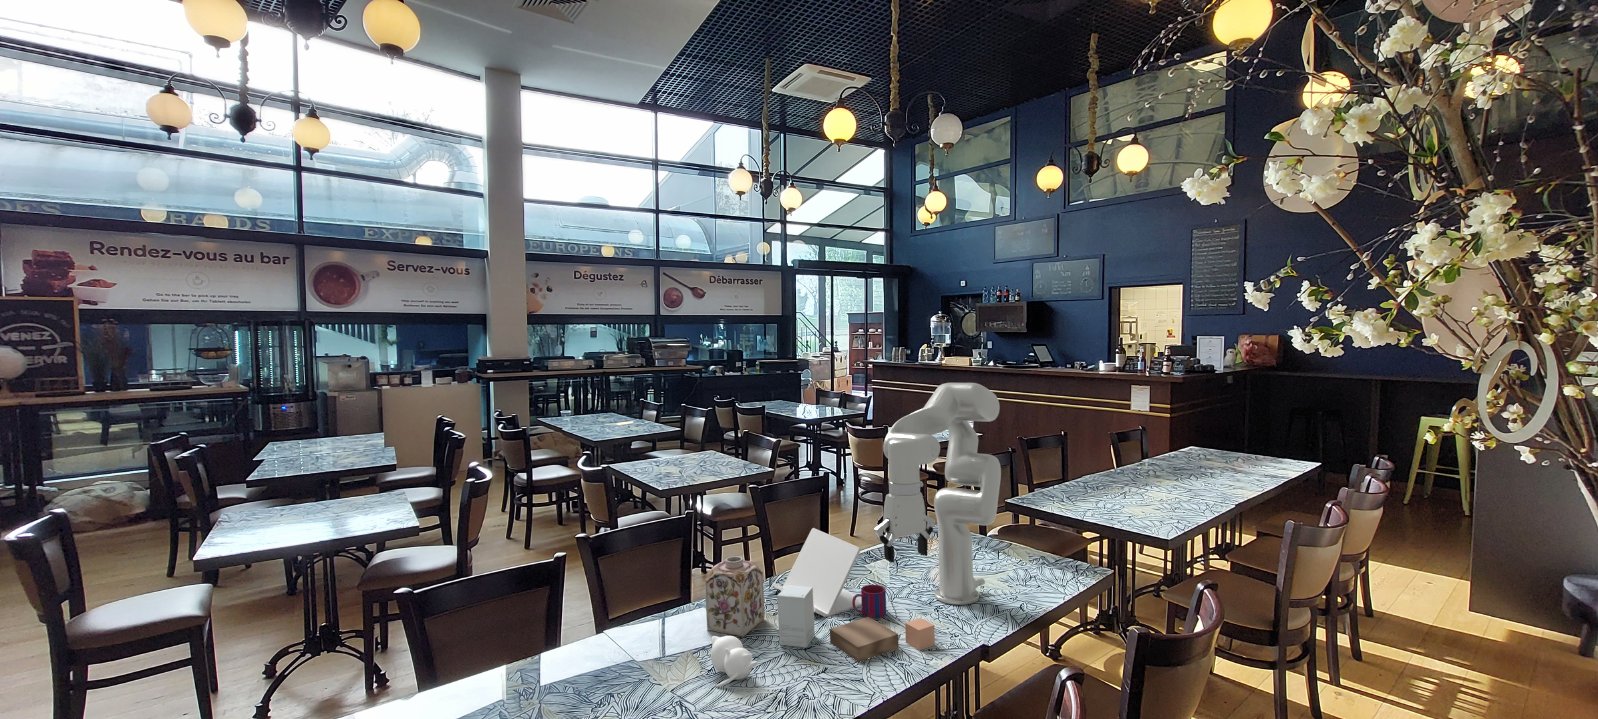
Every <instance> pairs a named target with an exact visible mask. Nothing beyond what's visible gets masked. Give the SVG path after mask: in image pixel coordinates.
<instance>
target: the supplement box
mask: <svg viewBox="0 0 1598 719" xmlns="http://www.w3.org/2000/svg"><path fill="white" fill-rule="evenodd" d="M776 597H777V611H778V612H777V613H778V615H777V616H778V634H779V635H778V636H779V645H780V646H789V647H797V648H798V647H799V648H807V647H808V646H809V644H810V643H811V642H812V640H813V639H814V637H815V635H816V633H815V612H814V605H813V587H804V586H792V585H787V586H786V587H785V588H784V589H783V590H782V591H781V590H780V592H779V593H778V594H777V596H776Z"/></svg>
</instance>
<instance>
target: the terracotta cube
mask: <svg viewBox="0 0 1598 719" xmlns="http://www.w3.org/2000/svg"><path fill="white" fill-rule="evenodd" d="M904 625H905V627H904V628H905V629H904V630H905V631H904V632H905V643H906V644H907V645H909V646H911V647H913V648H915V649H916V650H918V651H921V650H924V649H927V648H929V647H933V646H935V645H936V642H935V641H936V638H935V634H936V633H935V624H933V623H931V622H929V621H928V620H925V619H923V618H922V617H919V618H917V619H914V620H909V621H906V622H905V623H904Z"/></svg>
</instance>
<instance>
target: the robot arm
mask: <svg viewBox="0 0 1598 719" xmlns="http://www.w3.org/2000/svg"><path fill="white" fill-rule="evenodd" d="M999 414H1000V401H999V399H998V397H997V395H996V394H995V393H994V392H993V391H991V390H990V389H989V388H987V387H985V386H983V385H982V384H980V383H977V382H946V383H941V384H939V386H938V387H937V388H936V389H935V391H934V392H932V395H931V396H930V397H929V399H928V401H926V403H925V404H924V406H923V407H922V408H921V409H917V410H915V411H913V412H911V413H910V414H907V415H905V416H902V417H901V418H900V419H898V420H897V421H896V422H895V423H894V424H893V425H892V426H891V427H890V429H889V431H888V432H887V433H886V435H885V438H884V441H883V446H882V450H883V454H884V456H885V457H886V459H888V460H887V462H888V464H887V465H888V490H889V491H888V494H886V495H885V500H884V505H883V514H882V515H883V519H882V522H881V523H879V524H878V525H877V526H876V527H874V528H873V531H874V533H875V535H876V536H877V537H876V538H877V540H879V542H881V543H882V544H883V555H884V559H885V561H887V562H889V563H891V564H892V563H894V562H895V546H894V545H893V543H894V542H895V540H896V539H897V538H901V537H902V538H903V537H908V536H914V535H918V537H917V553H918V554H920V555H922V556H924V557H926V556H928V548H929V546H928V545H929V544H928V542H929V541H928V540H930V536H931V534H932V533H933V531H934V527H935V524H936V522H937V534H938V535H937V536H938V537H937V539H938V568H939V569H938V570H939V573H938V575H939V586H938V587H937V588H935V590H934V598H936V600H938V601H940V602H942V603H945V604H948V605H954V606H955V605H957V606H963V605H965V606H966V605H970V604H971V605H972V604H974V603H976V602H978V601H979V600H980V593H979V591H977V588H978V587H980V586H984V585H985V584H986V581H985V579H984V578H983V577H981V578H976V579H975V578H974V567H973V566H974V564H973V536H972V533H971V530H970V529H969V527H968V525H967V524H969V525H977V526H990V525H992V524H993V523H994V521H995V520H996V517H997V512H998V504H999V503H998V502H999V495H1000V486H1001V479H1002V477H1001V476H1002V468H1001V464H1000V461H999V458H998V457H997V456H994V455H992V454H990V453H978V447H979V436H978V434H977V432H976V431H975V429H974V427H973V426H972V425H971V424H970V423H969V422H993V421H995V420H996V419H997V418H998V416H999ZM946 430H948V436H949V437H948V445H947V450H946V451H947V452H946V459H945V465H944V466H945V467H944V477H945V480H947V482H949V483H950V484H954V485H958V486H968V487H978V488H980V490H977V489H967V488H960V487H959V488H958V487H943V488H941V489H939V490H937V492H936V493H935V496H934V498H933V507H934V513H935V516H936V517H935V518H936V519H934V518H933V517H931V516H928V515H926V506H925V501H924V498H923V497H924V496H923V493H922V492H921V487H922V488H923V487H924V483H923V481H922V480H920V479H921V478H920V477H921V476H920V475H921V474H920V465H928V464H932V463H934V462H935V461H937V459H938V457H939V455H940V453H941V444H940V442H939V439H938V438H936V436H934V435H937V434H940V433H943V432H945V431H946ZM883 533H885V534H883Z"/></svg>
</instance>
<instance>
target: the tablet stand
mask: <svg viewBox="0 0 1598 719" xmlns="http://www.w3.org/2000/svg"><path fill="white" fill-rule="evenodd" d="M861 550H862V549H861V547H859V546H857V545H854V544H852V543H850V542H848V541H845V540H843V539H841V538H839V537H836V536H833V535H831V534H828V533H826V532H824V531H822V530H819V529H817V528H815V527H813V528H811V530H810V531H809V534H808V535H807V538H806V540H805V542H804V543H803V545H802V547H801V550H800V552H799V554H798V556H797V557H796V560H795V561H794V563H793V565H792V568H791V569H790V572H789V573H788V575H787V577H786V579H785V581H784V584H783V585H780V584H778V583H776V582H773V583H771V584H772V586H773V587H775V588H776V589H777V590H779V591H780V592H781V591H782V590H783V589H784V588H785V587H786V586H787V585H792V586H804V587H813V605H814V613H816V614H818V615H821V616H823V617H825V618H826V617H829V616H833V615H836V614H839V613H843V612H844V613H845V612H847V611H850V609H851V610H854V608H853V605H852V600H853V597H854V596H855V595H856V594H855V593H852V591H849V590H847V589H845V588H844V587H845V585H846V583H847V580H848V578H849V576H850V574H851V572H852V570H853V568H854V566H855V564H856V561H857V559H858V557H859V556H860V553H861ZM855 607H856V609H858V608H860V607H861V608H862V600H861V596H858V597H857V598H856V600H855Z"/></svg>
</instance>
